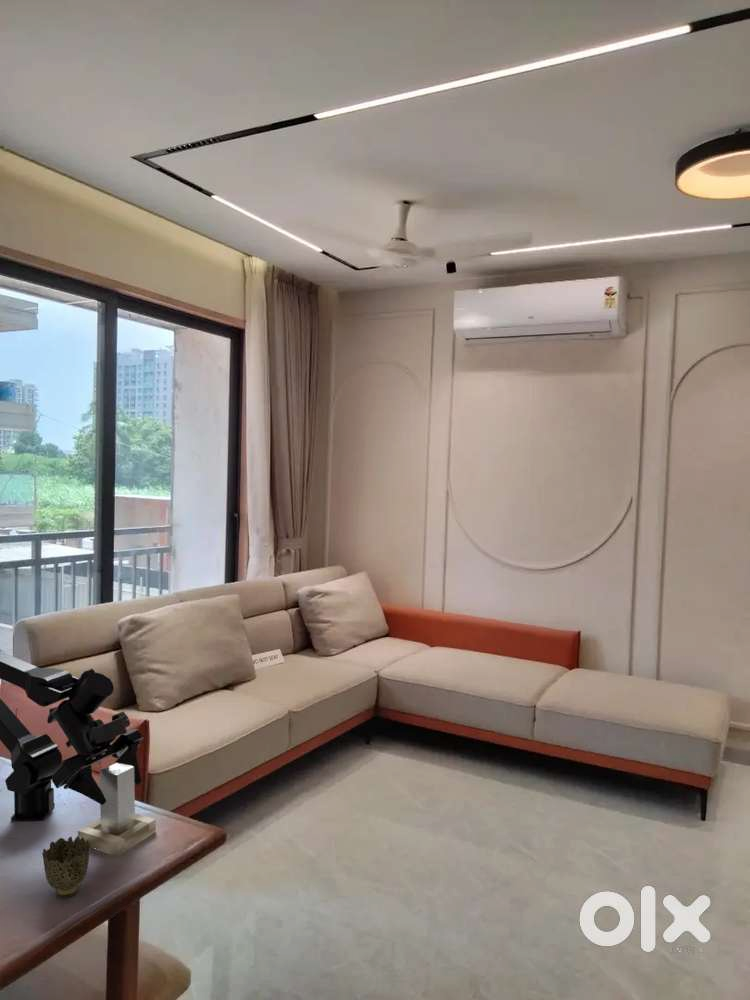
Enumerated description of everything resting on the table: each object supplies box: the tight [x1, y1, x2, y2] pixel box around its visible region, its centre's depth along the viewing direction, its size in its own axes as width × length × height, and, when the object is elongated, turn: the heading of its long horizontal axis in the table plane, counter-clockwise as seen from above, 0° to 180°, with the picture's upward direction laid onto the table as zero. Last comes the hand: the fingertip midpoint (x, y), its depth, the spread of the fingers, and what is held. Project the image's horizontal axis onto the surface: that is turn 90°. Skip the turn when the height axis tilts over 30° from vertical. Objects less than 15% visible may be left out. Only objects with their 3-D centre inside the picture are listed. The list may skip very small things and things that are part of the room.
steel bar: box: [99, 763, 136, 836], centre depth 141 cm, size 4×4×13 cm
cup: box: [41, 836, 91, 899], centre depth 123 cm, size 8×7×8 cm
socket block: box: [77, 812, 157, 857], centre depth 141 cm, size 10×10×3 cm
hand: (122, 793), depth 140 cm, fingers open, 9 cm apart
